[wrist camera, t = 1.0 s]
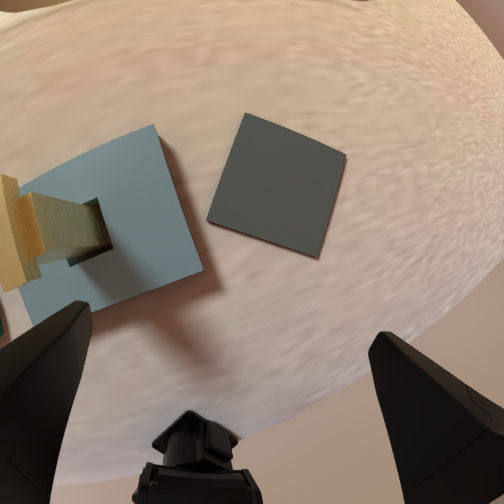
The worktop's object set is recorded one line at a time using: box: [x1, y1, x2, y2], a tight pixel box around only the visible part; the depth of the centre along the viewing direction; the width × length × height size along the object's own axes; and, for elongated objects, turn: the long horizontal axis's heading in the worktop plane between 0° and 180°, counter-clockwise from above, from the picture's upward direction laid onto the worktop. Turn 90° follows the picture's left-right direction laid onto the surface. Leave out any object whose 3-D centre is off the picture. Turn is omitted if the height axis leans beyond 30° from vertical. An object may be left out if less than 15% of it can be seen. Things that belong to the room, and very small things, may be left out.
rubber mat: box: [206, 113, 346, 257], centre depth 25 cm, size 10×10×1 cm
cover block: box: [19, 124, 204, 326], centre depth 21 cm, size 12×16×2 cm
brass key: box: [0, 174, 112, 293], centre depth 16 cm, size 5×3×14 cm, turn 20°
